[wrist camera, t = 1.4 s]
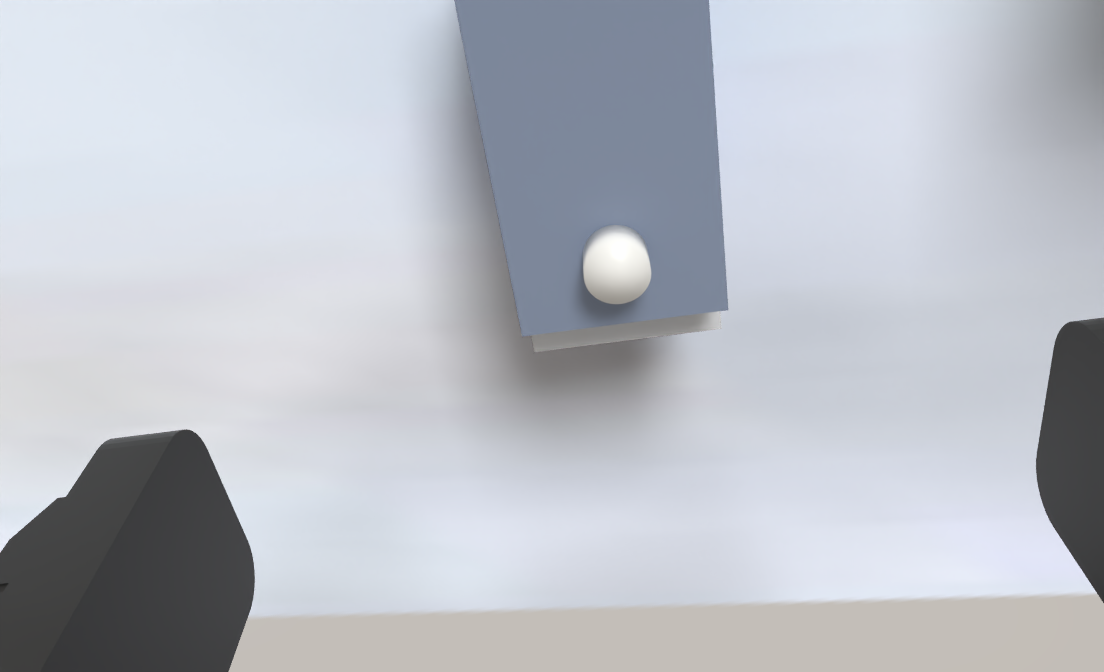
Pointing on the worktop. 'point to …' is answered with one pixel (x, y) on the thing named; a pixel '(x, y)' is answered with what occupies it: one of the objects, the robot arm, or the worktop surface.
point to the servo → (602, 163)
